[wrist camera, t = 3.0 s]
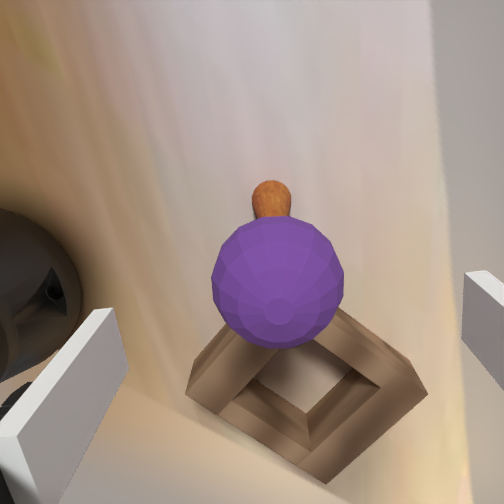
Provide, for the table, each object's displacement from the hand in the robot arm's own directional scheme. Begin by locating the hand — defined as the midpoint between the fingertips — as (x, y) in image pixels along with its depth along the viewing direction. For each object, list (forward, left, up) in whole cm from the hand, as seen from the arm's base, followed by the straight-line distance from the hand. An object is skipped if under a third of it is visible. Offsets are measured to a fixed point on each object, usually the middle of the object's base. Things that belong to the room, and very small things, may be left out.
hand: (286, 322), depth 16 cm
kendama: (0, 0, -21) cm, 21 cm away
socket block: (+12, -11, -21) cm, 26 cm away
